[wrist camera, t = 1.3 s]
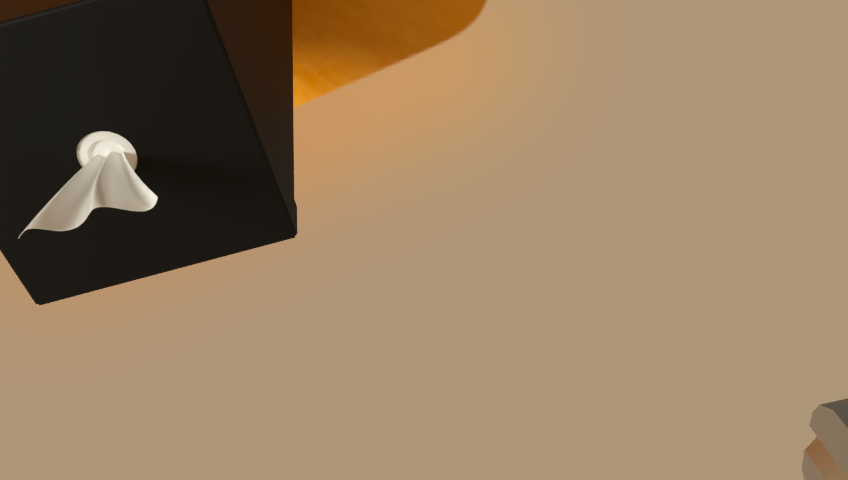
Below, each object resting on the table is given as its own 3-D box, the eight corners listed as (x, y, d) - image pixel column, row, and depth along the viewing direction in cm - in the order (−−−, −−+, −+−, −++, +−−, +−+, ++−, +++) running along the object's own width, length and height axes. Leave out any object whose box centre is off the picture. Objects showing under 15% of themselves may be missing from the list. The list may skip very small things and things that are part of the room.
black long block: (293, -16, 43) (299, 309, 20) (153, 22, 43) (3, 387, 21) (243, -174, 39) (178, 16, 16) (87, -131, 39) (-201, 118, 16)
